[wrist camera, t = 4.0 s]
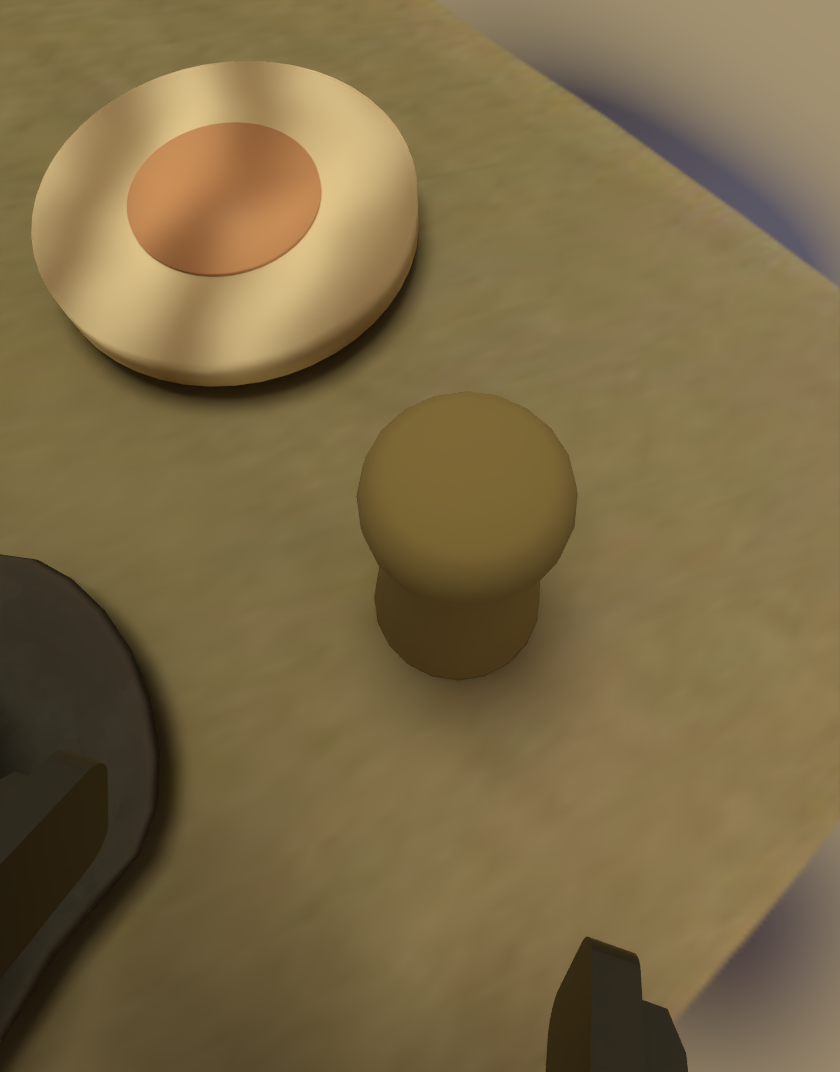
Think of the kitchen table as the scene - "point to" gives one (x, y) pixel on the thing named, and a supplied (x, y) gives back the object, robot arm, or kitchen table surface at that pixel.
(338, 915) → the kitchen table surface
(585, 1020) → the robot arm
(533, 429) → the brown pepper shaker
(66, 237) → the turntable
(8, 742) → the casserole
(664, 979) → the kitchen table surface
